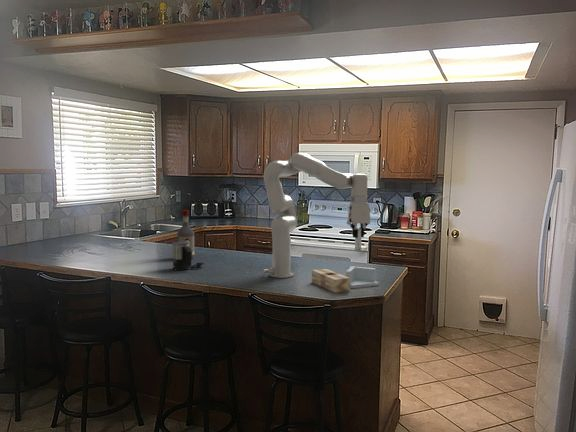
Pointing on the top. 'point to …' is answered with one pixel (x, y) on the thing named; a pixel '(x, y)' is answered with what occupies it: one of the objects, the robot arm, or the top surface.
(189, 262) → the milk frother
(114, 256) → the top surface
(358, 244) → the axle
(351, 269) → the grey angled piece
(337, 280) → the beam
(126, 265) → the top surface
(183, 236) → the liquor
